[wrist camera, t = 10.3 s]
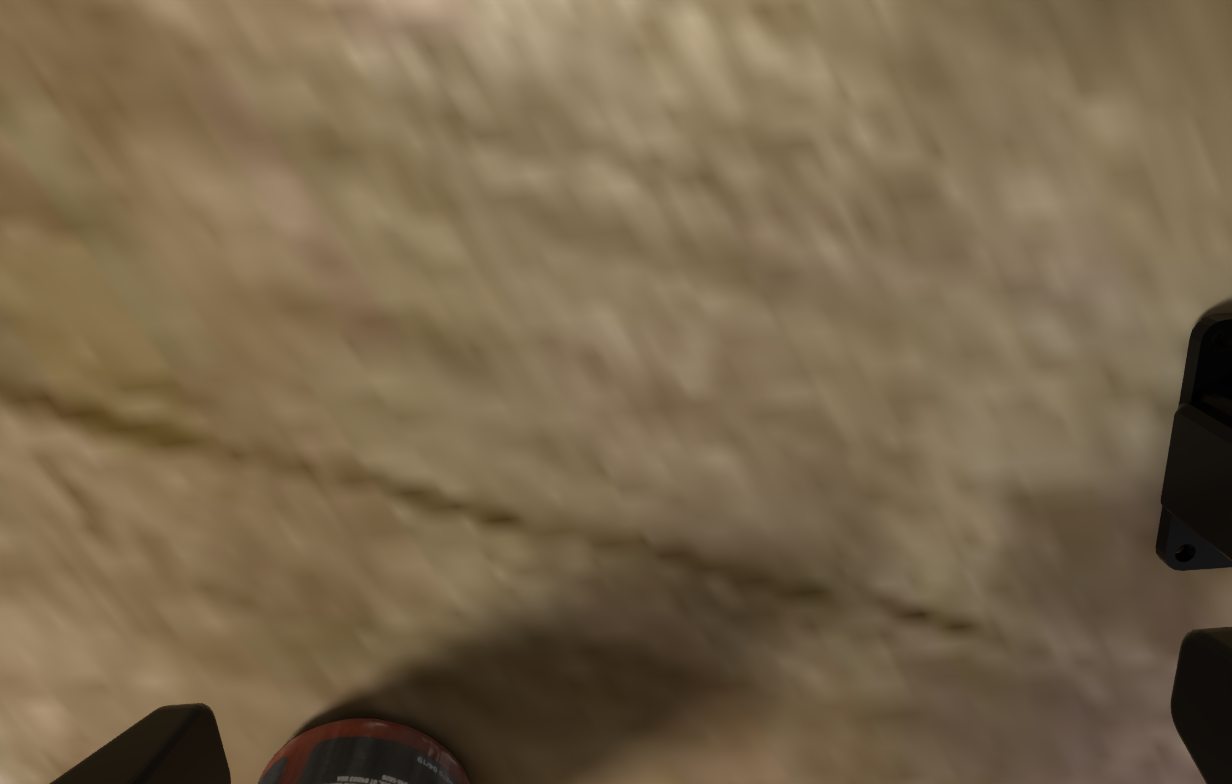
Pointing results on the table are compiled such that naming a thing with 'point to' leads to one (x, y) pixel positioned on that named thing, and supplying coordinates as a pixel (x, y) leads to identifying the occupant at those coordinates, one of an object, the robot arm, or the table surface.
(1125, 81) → the table surface
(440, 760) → the supplement bottle
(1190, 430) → the robot arm
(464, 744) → the table surface
